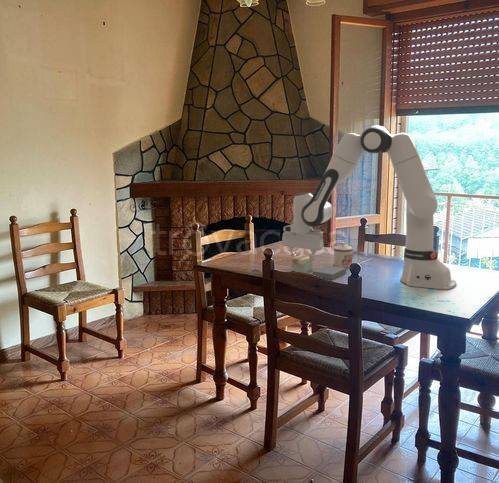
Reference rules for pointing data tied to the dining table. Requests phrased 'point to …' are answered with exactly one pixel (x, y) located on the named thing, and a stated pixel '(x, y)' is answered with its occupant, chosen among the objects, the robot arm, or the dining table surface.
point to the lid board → (301, 259)
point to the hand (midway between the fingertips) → (302, 257)
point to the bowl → (302, 267)
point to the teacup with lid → (343, 255)
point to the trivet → (330, 272)
